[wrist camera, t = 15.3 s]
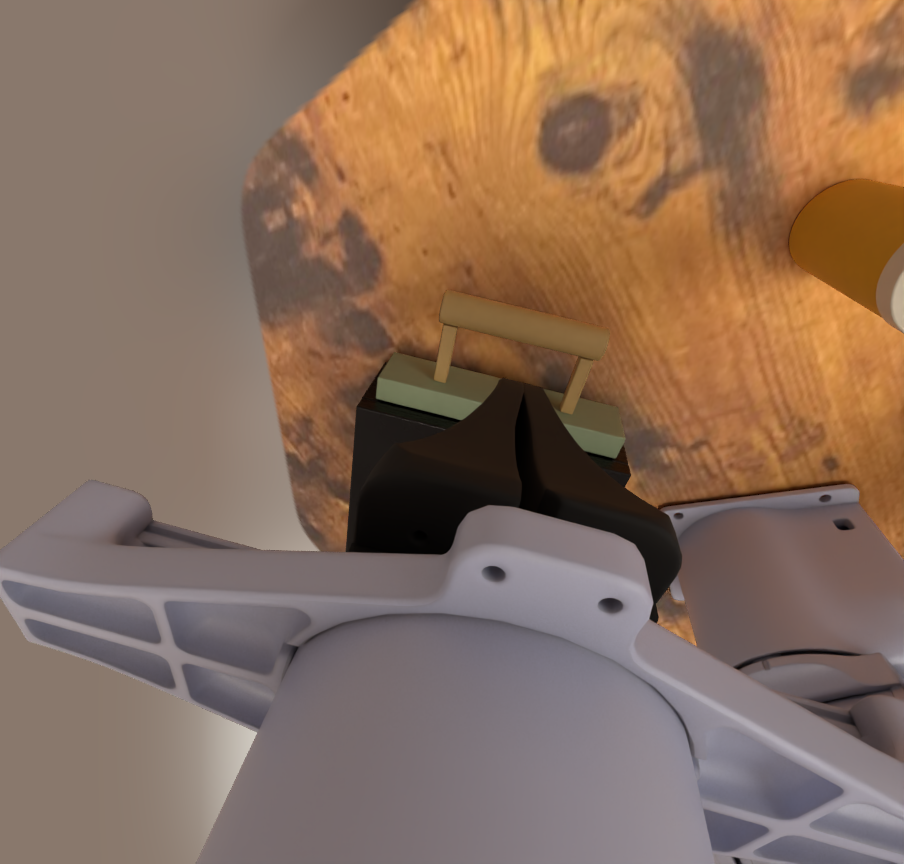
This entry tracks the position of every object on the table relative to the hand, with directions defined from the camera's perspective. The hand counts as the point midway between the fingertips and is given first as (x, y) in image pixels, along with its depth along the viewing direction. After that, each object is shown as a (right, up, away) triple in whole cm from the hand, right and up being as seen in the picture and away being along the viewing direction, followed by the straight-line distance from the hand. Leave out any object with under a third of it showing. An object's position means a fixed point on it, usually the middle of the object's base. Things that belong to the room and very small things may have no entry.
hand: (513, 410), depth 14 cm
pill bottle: (+13, +7, +4) cm, 15 cm away
